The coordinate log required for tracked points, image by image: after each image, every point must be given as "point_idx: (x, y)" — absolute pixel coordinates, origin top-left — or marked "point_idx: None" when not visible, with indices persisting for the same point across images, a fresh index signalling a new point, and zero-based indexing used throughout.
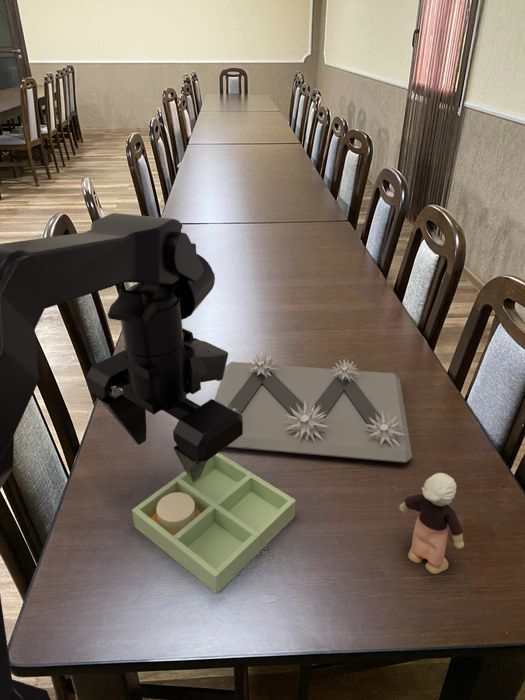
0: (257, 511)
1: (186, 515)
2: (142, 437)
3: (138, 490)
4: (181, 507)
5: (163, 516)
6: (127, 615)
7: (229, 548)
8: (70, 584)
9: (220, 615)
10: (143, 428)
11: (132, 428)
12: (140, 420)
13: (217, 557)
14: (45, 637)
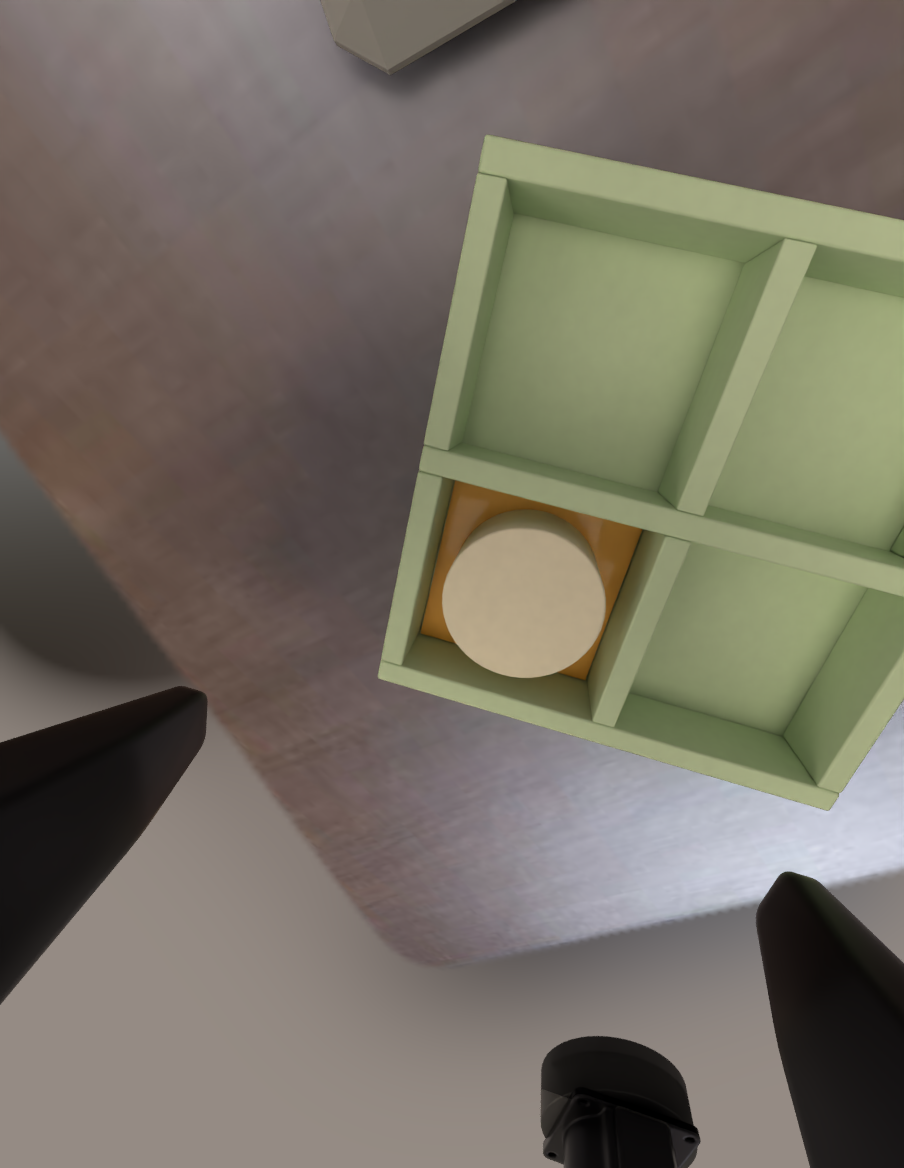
0: (843, 380)
1: (591, 630)
2: (174, 746)
3: (301, 497)
4: (549, 604)
5: (505, 665)
6: (566, 855)
7: (777, 605)
8: (381, 830)
9: None
10: (109, 779)
11: (50, 917)
12: (3, 864)
13: (745, 654)
14: (431, 929)
